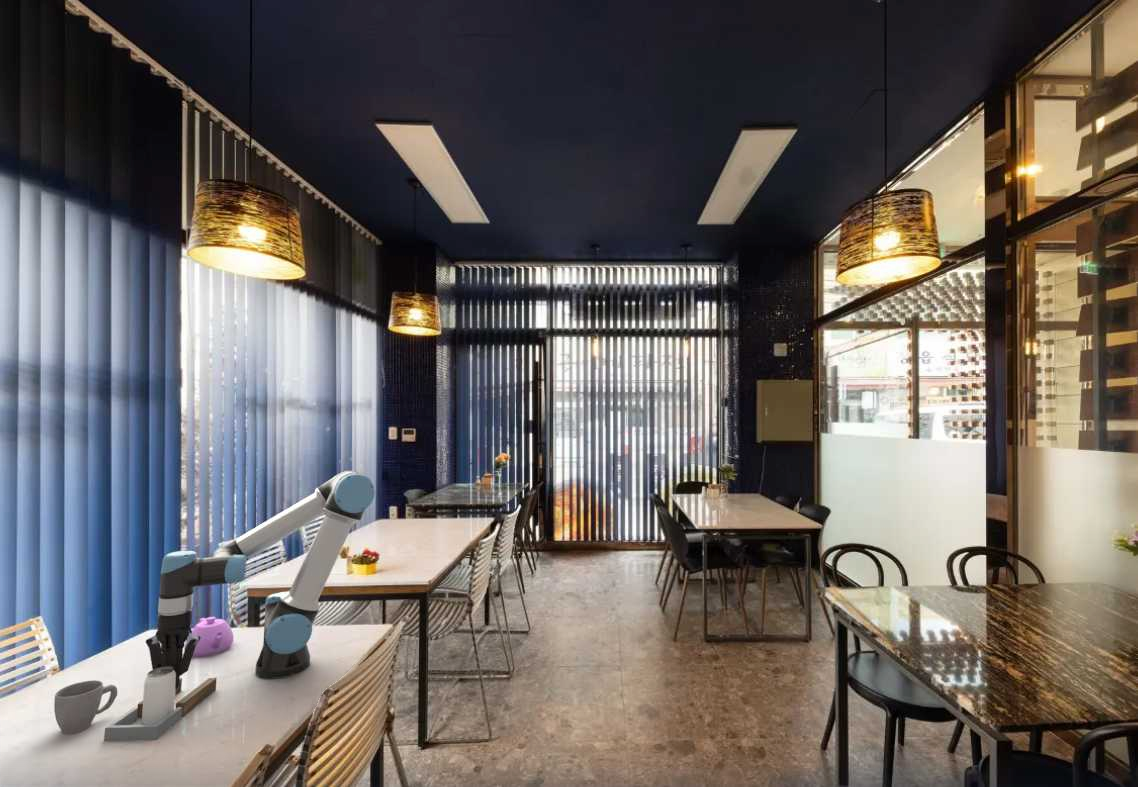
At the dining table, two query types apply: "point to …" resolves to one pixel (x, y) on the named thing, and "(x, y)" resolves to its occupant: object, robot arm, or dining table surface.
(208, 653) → the teapot
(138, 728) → the bay
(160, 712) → the can
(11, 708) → the dining table surface
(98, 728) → the dining table surface
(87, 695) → the mug
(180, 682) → the chute
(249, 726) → the dining table surface
